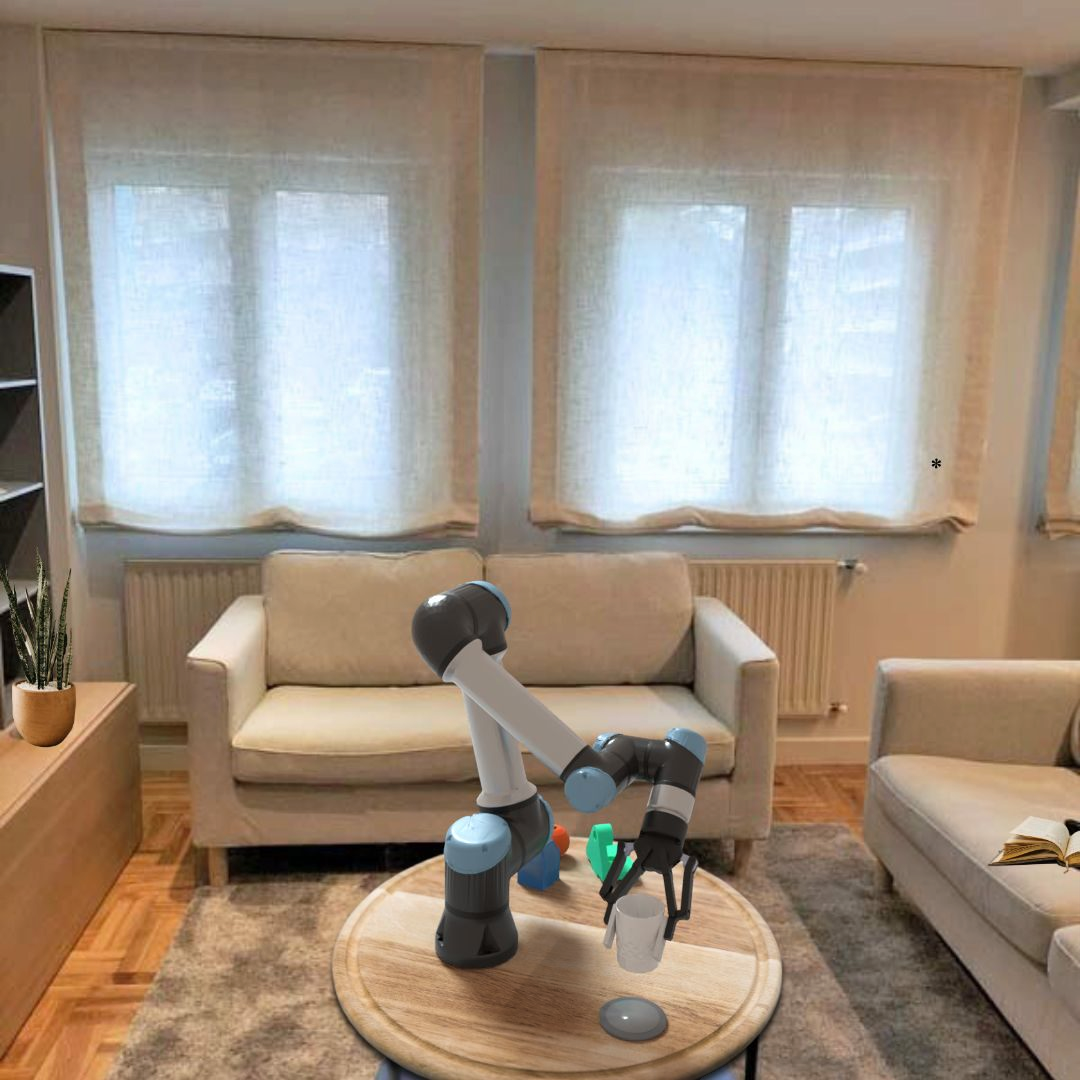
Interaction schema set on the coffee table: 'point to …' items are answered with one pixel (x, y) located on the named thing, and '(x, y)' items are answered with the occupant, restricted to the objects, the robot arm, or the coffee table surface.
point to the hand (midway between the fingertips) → (631, 952)
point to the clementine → (561, 839)
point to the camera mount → (604, 851)
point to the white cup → (637, 931)
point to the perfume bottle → (541, 869)
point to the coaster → (632, 1018)
